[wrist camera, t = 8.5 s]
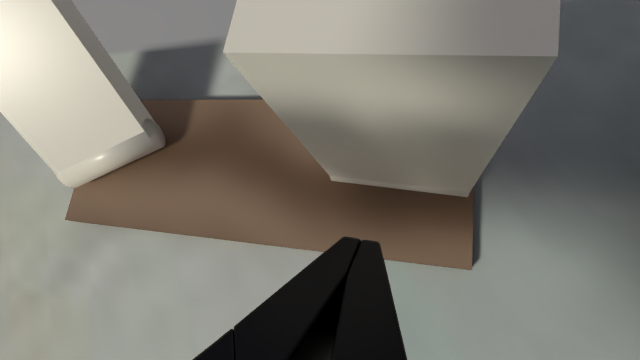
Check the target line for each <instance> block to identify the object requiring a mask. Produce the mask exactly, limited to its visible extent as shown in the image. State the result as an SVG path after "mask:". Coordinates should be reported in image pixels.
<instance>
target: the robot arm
mask: <svg viewBox="0 0 640 360" xmlns="http://www.w3.org/2000/svg"><path fill="white" fill-rule="evenodd" d="M193 360H407V357H406V352H405V348H404V344H403V340H402V335H401V331H400V327H399V322H398V318H397V314H396V310H395V305H394V301H393V297H392V292H391V288H390V284H389V280H388V275H387V271H386V267H385V262H384V258H383V254H382V250H381V245H380V243H379V242H377V241H372V240H366V239H364V240H362V241H361V240H360V239H359V238H354V237H348V236H344V237H342V238H341V239H340V240H339V241H337V242H336V243H335V244H334V245H332V246H331V247H330V248H329V249H328V250H326V251H325V252H324V253H323V254H322V255H320V256H319V257H318V258H317V259H315V260H314V261H313V262H312V263H311V264H309V265H308V266H307V267H306V268H305V269H303V270H302V271H301V272H300V273H298V274H297V275H296V276H295V277H294V278H292V279H291V280H290V281H289V282H288V283H286V284H285V285H284V286H283V287H281V288H280V289H279V290H278V291H277V292H275V293H274V294H273V295H272V296H271V297H269V298H268V299H267V300H266V301H264V302H263V303H262V304H261V305H260V306H258V307H257V308H256V309H255V310H254V311H252V312H251V313H250V314H249V315H247V316H246V317H245V318H244V319H243V320H241V321H240V322H239V323H238V324H237V325H235V326H234V330H233V329H230V330H229V331H228V332H227V333H225V334H224V335H223V336H222V337H221V338H219V339H218V340H217V341H216V342H214V343H213V344H212V345H211V346H209V347H208V348H207V349H205V350H204V351H203V352H202V353H200V354H199V355H198V356H197V357H195V358H194V359H193Z"/></svg>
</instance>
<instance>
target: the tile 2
mask: <svg viewBox="0 0 640 360" xmlns="http://www.w3.org/2000/svg"><path fill="white" fill-rule="evenodd" d="M560 2H561V0H237V2H236V6H235V10H234V13H233V17H232V21H231V25H230V28H229V32H228V36H227V39H226V43H225V47H224V50H223V53H224V54H225V56H226V57H227V58H228V59H229V60H230V61H231V62H232V64H233V65H234V66H235V67H236V68H237V69H238V71H239V72H240V73H241V74H242V75H243V76H244V78H245V79H246V80H247V81H248V82H249V83H250V84H251V86H252V87H253V88H254V89H255V90H256V91H257V93H258V94H259V95H260V96H261V97H262V98H263V99H264V101H265V102H266V103H267V104H268V105H269V106H270V108H271V109H272V110H273V111H274V112H275V113H276V115H277V116H278V117H279V118H280V119H281V120H282V121H283V123H284V124H285V125H286V126H287V127H288V128H289V130H290V131H291V132H292V133H293V134H294V135H295V136H296V138H297V139H298V140H299V141H300V142H301V143H302V145H303V146H304V147H305V148H306V149H307V150H308V152H309V153H310V154H311V155H312V156H313V157H314V158H315V160H316V161H317V162H318V163H319V164H320V165H321V167H322V168H323V169H324V170H325V171H326V172H327V173H328V175H329V176H330V179H331V180H332V181H337V182H345V183H354V184H362V185H370V186H379V187H387V188H395V189H403V190H412V191H420V192H428V193H436V194H445V195H453V196H461V197H468V196H469V193H470V191H471V190H472V188H473V187H474V185H475V183H476V182H477V180H478V179H479V177H480V176H481V174H482V173H483V171H484V170H485V168H486V167H487V165H488V164H489V162H490V160H491V159H492V157H493V156H494V154H495V153H496V151H497V150H498V148H499V147H500V145H501V144H502V142H503V140H504V139H505V137H506V136H507V134H508V133H509V131H510V130H511V128H512V127H513V125H514V124H515V122H516V120H517V119H518V117H519V116H520V114H521V113H522V111H523V110H524V108H525V107H526V105H527V104H528V102H529V100H530V99H531V97H532V96H533V94H534V93H535V91H536V90H537V88H538V87H539V85H540V84H541V82H542V81H543V79H544V77H545V76H546V74H547V73H548V71H549V70H550V68H551V67H552V65H553V64H554V62H555V61H556V59H557V57H558V48H559V25H560Z"/></svg>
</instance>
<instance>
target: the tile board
mask: <svg viewBox="0 0 640 360" xmlns="http://www.w3.org/2000/svg"><path fill="white" fill-rule="evenodd" d="M140 101H141V102H142V104H143V105H144V107H145V108H146V109H147V111H148V112H149V114H150V115H151V117H152V118H153V120H154V121H155V122H156V123H157V125H158V126H159V127H160V128H161V130H162V132H163V134H164V136H165V146H164V147H163V148H160V149H158V150H156V151H154V152H152V153H150V154H148V155H145V156H143V157H141V158H139V159H137V160H135V161H133V162H130V163H128V164H126V165H124V166H122V167H120V168H118V169H115V170H113V171H111V172H109V173H107V174H105V175H103V176H100V177H98V178H96V179H94V180H92V181H90V182H87V183H85V184H83V185H81V186H79V187H76V188H74V191H73V194H72V198H71V201H70V204H69V208H68V211H67V215H66V218H65V220H70V221H77V222H85V223H93V224H101V225H109V226H117V227H126V228H134V229H142V230H150V231H158V232H166V233H174V234H182V235H191V236H199V237H207V238H215V239H223V240H231V241H239V242H247V243H256V244H264V245H272V246H280V247H288V248H296V249H304V250H312V251H321V252H325V251H326V250H328V249H329V248H330V247H331V246H332V245H334V244H335V243H336V242H337V241H339V240H340V239H341V238H342V237H344V236H348V237H354V238H359V239H360V240H361V241H362V240H364V239H366V240H372V241H377V242H379V243H380V245H381V250H382V254H383V258H384V259H386V260H394V261H402V262H410V263H418V264H426V265H434V266H442V267H451V268H459V269H467V270H472V250H473V215H474V187H473V188H472V190H471V191H470V193H469V196H468V197H461V196H453V195H445V194H436V193H428V192H420V191H412V190H403V189H395V188H387V187H379V186H370V185H362V184H354V183H345V182H337V181H332V180H331V179H330V176H329V175H328V173H327V172H326V171H325V170H324V169H323V168H322V167H321V165H320V164H319V163H318V162H317V161H316V160H315V158H314V157H313V156H312V155H311V154H310V153H309V152H308V150H307V149H306V148H305V147H304V146H303V145H302V143H301V142H300V141H299V140H298V139H297V138H296V136H295V135H294V134H293V133H292V132H291V131H290V130H289V128H288V127H287V126H286V125H285V124H284V123H283V121H282V120H281V119H280V118H279V117H278V116H277V115H276V113H275V112H274V111H273V110H272V109H271V108H270V106H269V105H268V104H267V103H266V102H265V101H264V99H256V100H140Z"/></svg>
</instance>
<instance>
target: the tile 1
mask: <svg viewBox="0 0 640 360" xmlns="http://www.w3.org/2000/svg"><path fill="white" fill-rule="evenodd" d="M0 112H1V113H2V114H3V115H4V116H5V118H6V119H7V120H8V121H9V122H10V123H11V124H12V125H13V127H14V128H15V129H16V130H17V131H18V132H19V133H20V134H21V136H22V137H23V138H24V139H25V140H26V141H27V142H28V143H29V145H30V146H31V147H32V148H33V149H34V150H35V151H36V152H37V154H38V155H39V156H40V157H41V158H42V159H43V160H44V161H45V163H46V164H47V165H48V166H49V167H50V168H51V169H52V170H53V172H54V173H55V174H56V176H57V178H58V179H59V180H60V181H61V182H62V183H63V184H64V185H66V186H68V187H71V188H76V187H79V186H81V185H83V184H85V183H87V182H90V181H92V180H94V179H96V178H98V177H100V176H103V175H105V174H107V173H109V172H111V171H113V170H115V169H118V168H120V167H122V166H124V165H126V164H128V163H130V162H133V161H135V160H137V159H139V158H141V157H143V156H145V155H148V154H150V153H152V152H154V151H156V150H158V149H160V148H163V147H164V146H165V136H164V134H163V132H162V130H161V128H160V127H159V126H158V125H157V123H156V122H155V121H154V120H153V118H152V117H151V115H150V114H149V112H148V111H147V109H146V108H145V107H144V105H143V104H142V102H141V101H140V99H139V98H138V96H137V95H136V93H135V92H134V91H133V89H132V88H131V86H130V85H129V83H128V82H127V80H126V79H125V77H124V76H123V75H122V73H121V72H120V70H119V69H118V67H117V66H116V64H115V63H114V61H113V60H112V59H111V57H110V56H109V54H108V53H107V51H106V50H105V48H104V47H103V46H102V44H101V43H100V41H99V40H98V38H97V37H96V36H95V34H94V32H93V31H92V30H91V28H90V27H89V25H88V24H87V23H86V21H85V19H84V18H83V17H82V15H81V14H80V12H79V11H78V9H77V8H76V6H75V5H74V3H73V2H72V0H0Z"/></svg>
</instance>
